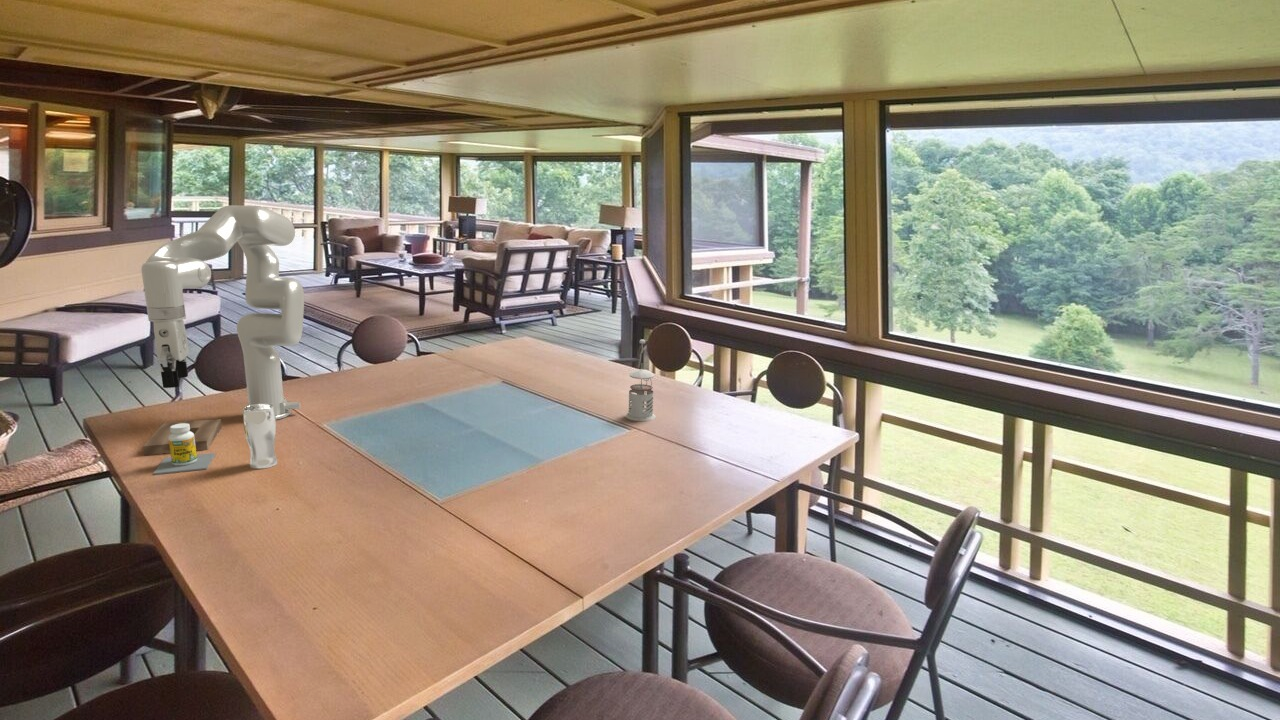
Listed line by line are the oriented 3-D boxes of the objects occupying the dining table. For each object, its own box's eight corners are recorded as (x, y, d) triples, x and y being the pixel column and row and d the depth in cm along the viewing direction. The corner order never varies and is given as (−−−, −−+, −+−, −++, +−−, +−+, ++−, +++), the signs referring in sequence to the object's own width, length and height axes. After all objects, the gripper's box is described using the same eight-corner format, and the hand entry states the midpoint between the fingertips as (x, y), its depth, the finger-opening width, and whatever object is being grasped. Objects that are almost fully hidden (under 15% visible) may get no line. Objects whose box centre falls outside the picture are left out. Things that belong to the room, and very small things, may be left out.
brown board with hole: (221, 427, 201) (220, 418, 200) (207, 449, 183) (206, 440, 182) (164, 431, 196) (163, 423, 195) (144, 455, 178) (143, 446, 177)
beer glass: (270, 457, 178) (264, 401, 175) (285, 463, 174) (279, 406, 171) (242, 465, 173) (236, 407, 169) (256, 471, 169) (250, 412, 165)
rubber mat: (215, 454, 179) (215, 453, 179) (206, 469, 169) (206, 468, 169) (165, 459, 175) (164, 457, 175) (153, 474, 165) (153, 473, 165)
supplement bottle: (197, 457, 176) (192, 421, 174) (197, 463, 172) (193, 426, 170) (171, 461, 173) (166, 424, 171) (171, 467, 169) (166, 430, 167)
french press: (620, 418, 218) (621, 340, 213) (634, 409, 229) (636, 334, 223) (649, 422, 214) (651, 343, 209) (662, 412, 225) (664, 337, 220)
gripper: (176, 318, 160) (186, 390, 164) (192, 307, 175) (200, 372, 179) (138, 320, 157) (148, 392, 161) (157, 308, 173) (166, 374, 177)
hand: (176, 382), depth 170 cm, fingers open, 9 cm apart
